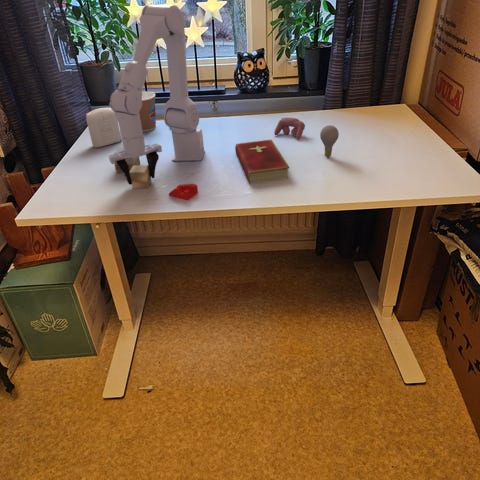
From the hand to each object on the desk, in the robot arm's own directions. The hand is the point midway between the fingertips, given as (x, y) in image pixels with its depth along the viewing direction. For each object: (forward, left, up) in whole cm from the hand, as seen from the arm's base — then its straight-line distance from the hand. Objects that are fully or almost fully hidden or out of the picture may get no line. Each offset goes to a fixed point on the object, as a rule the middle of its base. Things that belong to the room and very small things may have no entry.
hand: (141, 180), depth 127 cm
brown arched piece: (-44, -34, -2) cm, 56 cm away
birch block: (0, 0, -1) cm, 1 cm away
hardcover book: (-34, -11, -2) cm, 36 cm away
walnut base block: (+7, -11, -2) cm, 13 cm away
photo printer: (+20, -31, -2) cm, 37 cm away
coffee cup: (+9, -45, -2) cm, 46 cm away
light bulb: (-55, -16, -2) cm, 57 cm away
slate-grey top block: (+7, -11, +1) cm, 13 cm away
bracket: (-13, +6, -2) cm, 15 cm away
